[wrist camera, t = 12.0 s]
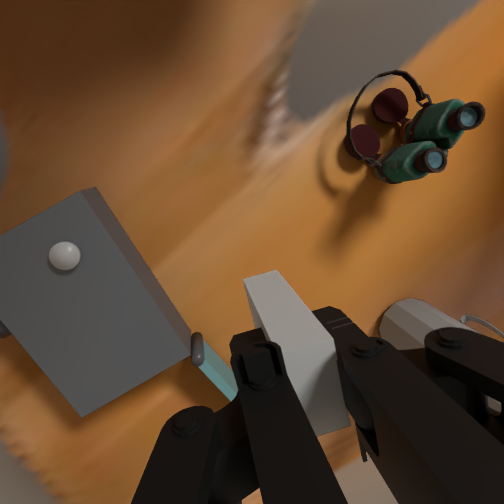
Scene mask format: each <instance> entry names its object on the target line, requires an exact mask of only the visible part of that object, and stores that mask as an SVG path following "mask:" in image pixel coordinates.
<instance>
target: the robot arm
mask: <svg viewBox="0 0 504 504" xmlns="http://www.w3.org/2000/svg"><path fill="white" fill-rule="evenodd" d="M243 282H244V286H245V290H246V294H247V297H248V301H249V305H250V309H251V313H252V317H253V321H254V325H255V329H254V330H250V331H247V332H243V333H240V334H237V335H234V336H233V338H232V340H231V342H230V344H229V345H230V349H231V354H232V356H231V361H230V363H231V366H232V370H233V373H234V377H235V380H236V384H237V387H238V392H237V395H236V396H235V398H234V399H233V400H232V401H231V402H230V403H229V404H228V405H227V406H225V407H224V408H222V409H221V410H219V411H217V412H215V413H214V412H213V411H212V410H211V408H208V407H205V406H193V407H189V408H186V409H183V410H181V411H179V412H178V413H176V414H174V415H173V416H172V417H171V418H170V419H169V420H167V421H166V423H165V424H164V426H163V428H162V429H161V432H160V434H159V436H158V439H157V441H156V444H155V446H154V449H153V451H152V453H151V456H150V458H149V461H148V463H147V466H146V468H145V470H144V473H143V475H142V478H141V480H140V483H139V485H138V487H137V490H136V492H135V495H134V497H133V500H132V502H131V504H242V500H243V499H244V498H245V497H247V496H248V495H250V494H251V493H253V492H254V491H255V490H257V489H258V488H260V492H261V496H262V501H263V504H348V503H347V501H346V498H345V496H344V494H343V492H342V490H341V488H340V486H339V484H338V481H337V479H336V477H335V475H334V473H333V471H332V469H331V466H330V464H329V462H328V460H327V458H326V456H325V454H324V452H323V449H322V447H321V445H320V443H319V441H318V439H317V437H318V436H321V435H324V434H327V433H330V432H333V431H336V430H339V429H342V428H345V427H348V426H351V424H350V419H349V414H348V411H349V412H350V414H351V416H352V417H353V419H354V420H355V425H356V430H357V435H358V441H359V446H360V451H361V456H362V459H363V462H366V461H367V456H366V451H367V453H368V454H369V456H370V458H371V459H372V461H373V463H374V464H375V466H376V467H377V469H378V471H379V472H380V474H381V476H382V477H383V479H384V480H385V482H386V484H387V485H388V487H389V488H390V490H391V492H392V493H393V495H394V497H395V499H396V500H397V502H398V503H399V504H504V343H503V342H500V341H498V340H495V339H493V338H490V337H487V336H485V335H482V334H479V333H477V332H474V331H471V330H468V329H464V328H457V327H446V328H445V327H443V328H439V329H436V330H433V331H431V332H429V333H428V334H427V335H426V336H425V338H424V346H425V348H417V349H407V350H397V349H396V348H395V347H394V346H393V345H392V344H391V343H389V342H388V341H386V340H384V339H381V338H377V337H368V336H367V335H366V334H365V333H364V332H363V331H362V330H361V329H360V328H359V327H358V326H357V325H356V324H355V323H353V322H352V320H350V319H349V318H347V316H346V315H345V314H344V313H343V312H342V311H341V310H339V309H337V308H334V307H331V306H328V307H324V308H321V309H318V310H314V311H310V310H309V308H308V307H307V306H306V305H305V303H304V302H303V301H302V300H301V299H300V297H299V296H298V295H297V294H296V293H295V291H294V290H293V289H292V288H291V286H290V285H289V284H288V283H287V282H286V280H285V279H284V278H283V277H282V275H281V274H280V273H279V272H278V271H277V270H274V271H270V272H267V273H263V274H260V275H256V276H252V277H249V278H245V279H243ZM488 396H489V397H491V398H493V399H494V400H496V401H498V402H500V403H501V412H499V411H496V410H494V409H492V408H490V407H489V406H488Z"/></svg>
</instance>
